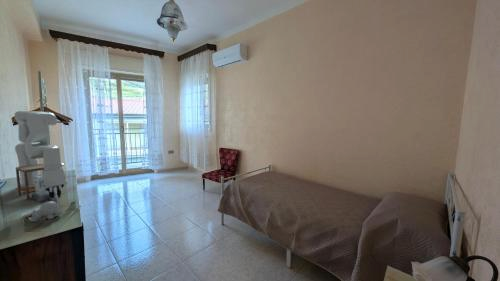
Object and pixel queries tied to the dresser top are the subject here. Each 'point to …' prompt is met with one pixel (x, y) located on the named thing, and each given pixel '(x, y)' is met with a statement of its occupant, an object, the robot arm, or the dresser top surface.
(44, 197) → the gray frame with handle
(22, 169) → the wooden stool
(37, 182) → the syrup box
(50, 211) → the round bodied animal figurine
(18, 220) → the dresser top surface
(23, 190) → the pit trap
